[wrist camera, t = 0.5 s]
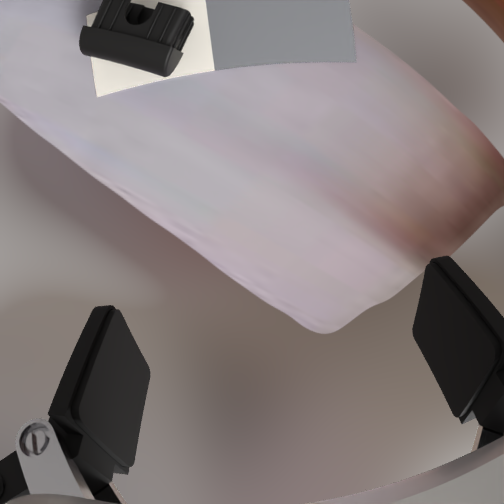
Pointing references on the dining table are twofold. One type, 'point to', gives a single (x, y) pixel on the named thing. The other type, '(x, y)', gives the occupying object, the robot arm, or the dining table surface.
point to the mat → (279, 32)
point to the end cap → (138, 35)
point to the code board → (124, 77)
